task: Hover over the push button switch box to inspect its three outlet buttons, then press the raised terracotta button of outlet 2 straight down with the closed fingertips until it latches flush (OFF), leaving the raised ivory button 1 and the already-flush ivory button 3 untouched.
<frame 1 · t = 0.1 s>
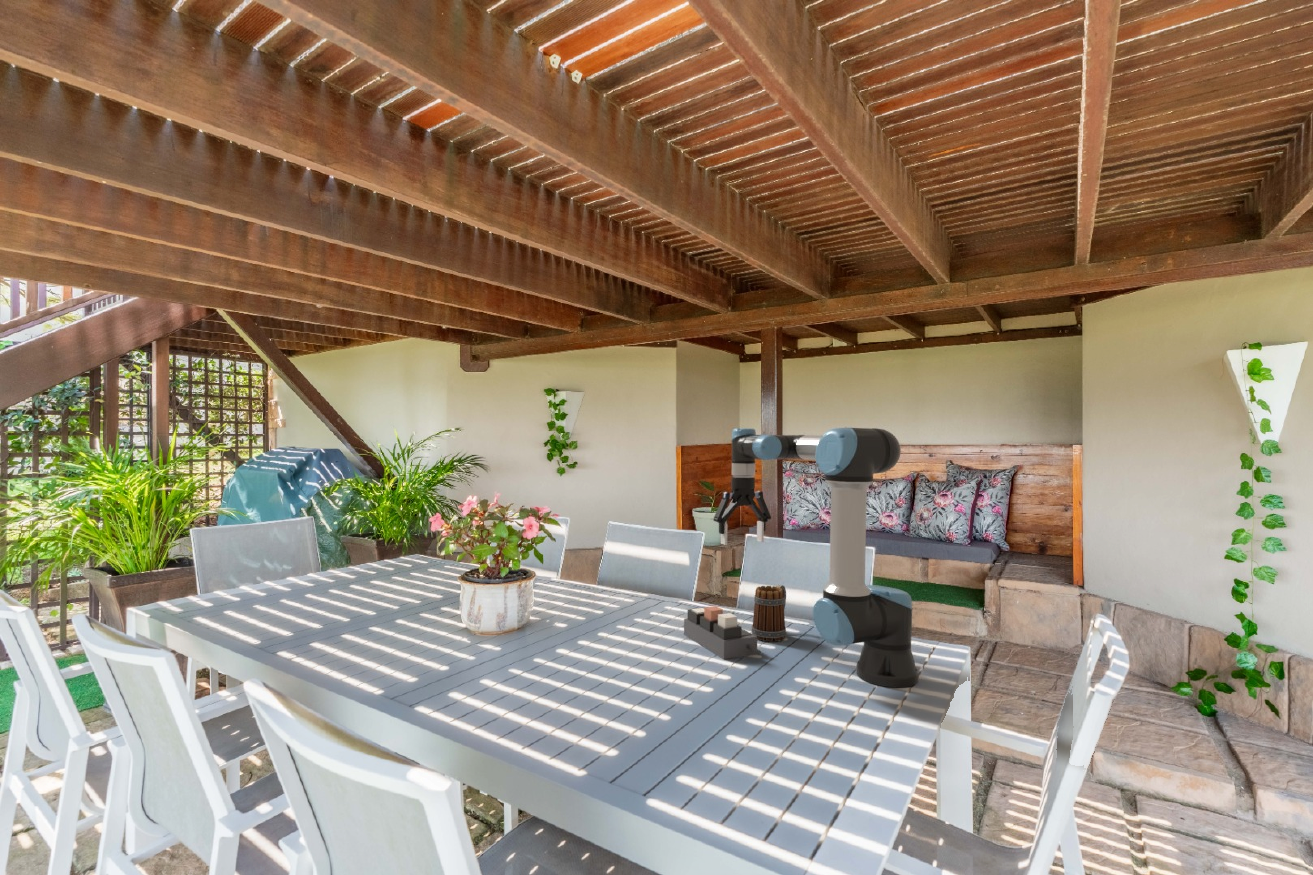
hand: (742, 542, 209), 28 cm above the table, fingers open, 13 cm apart
button 2: (713, 613, 194), point 9 cm above the table, slide at 2.5 cm
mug: (772, 635, 204), on the table
push button switch box: (718, 643, 195), on the table
button 3: (700, 614, 201), point 7 cm above the table, slide at 0.0 cm
button 1: (727, 620, 187), point 9 cm above the table, slide at 2.5 cm
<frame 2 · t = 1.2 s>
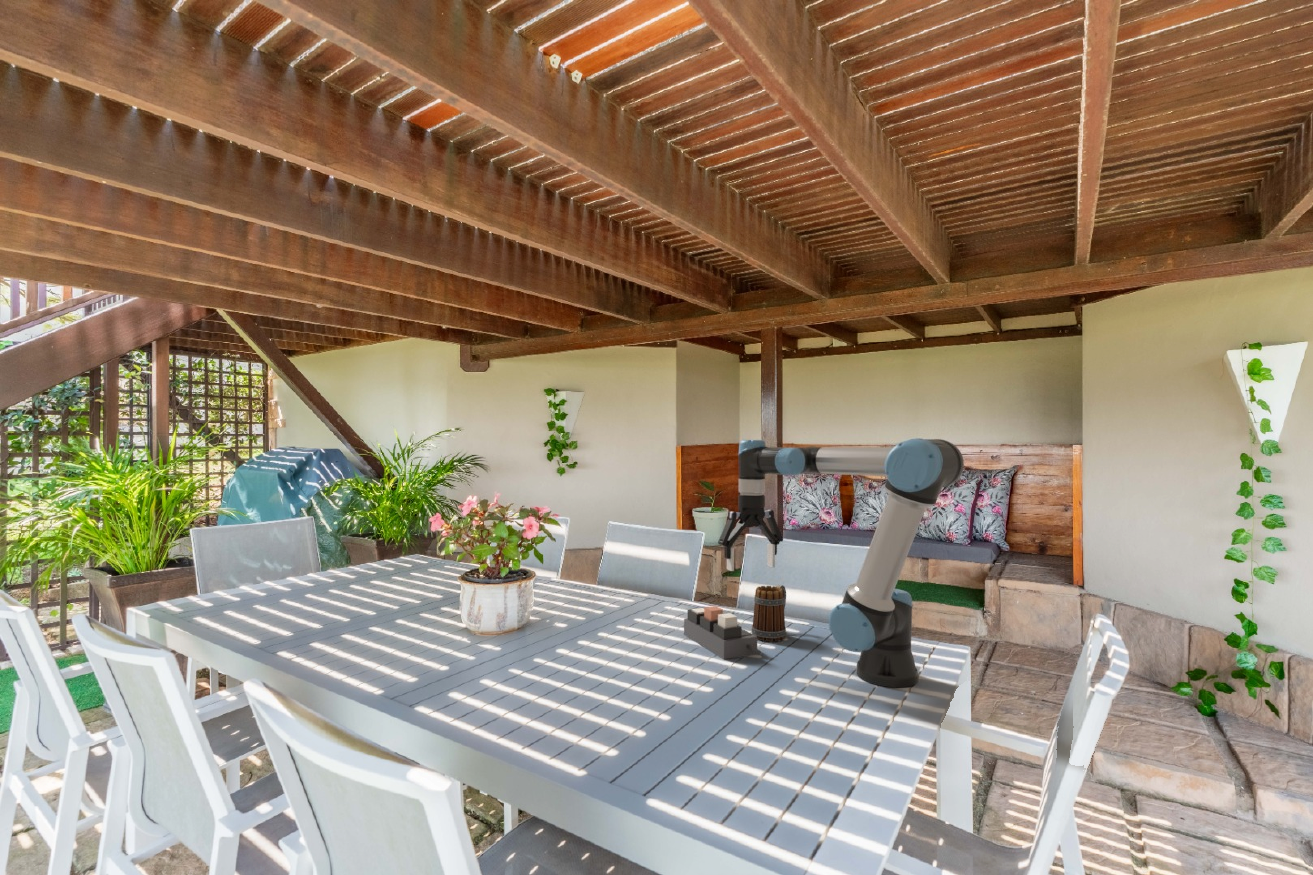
hand: (750, 568, 186), 25 cm above the table, fingers open, 13 cm apart
nothing on the table moved.
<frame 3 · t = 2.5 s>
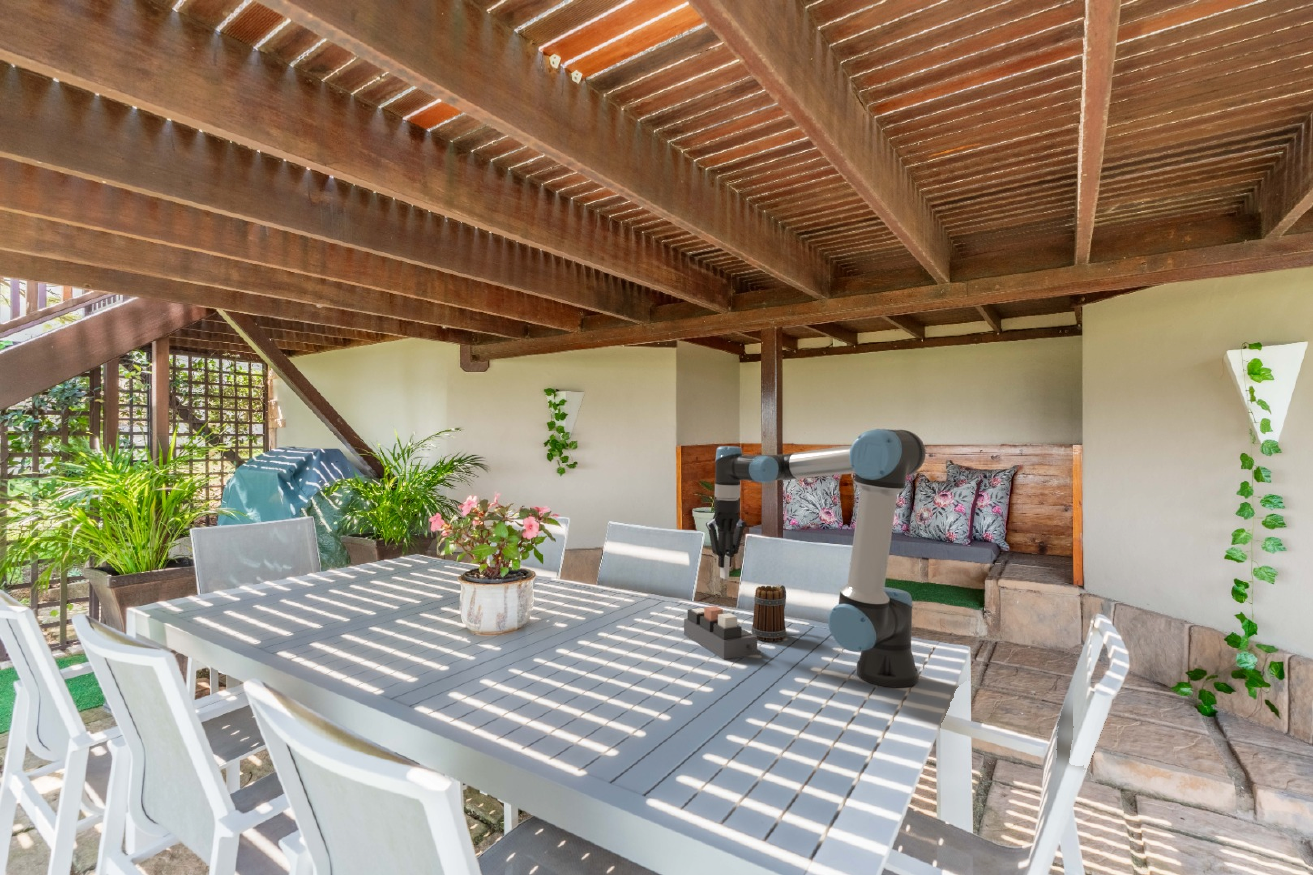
hand: (724, 577, 193), 20 cm above the table, fingers closed
nothing on the table moved.
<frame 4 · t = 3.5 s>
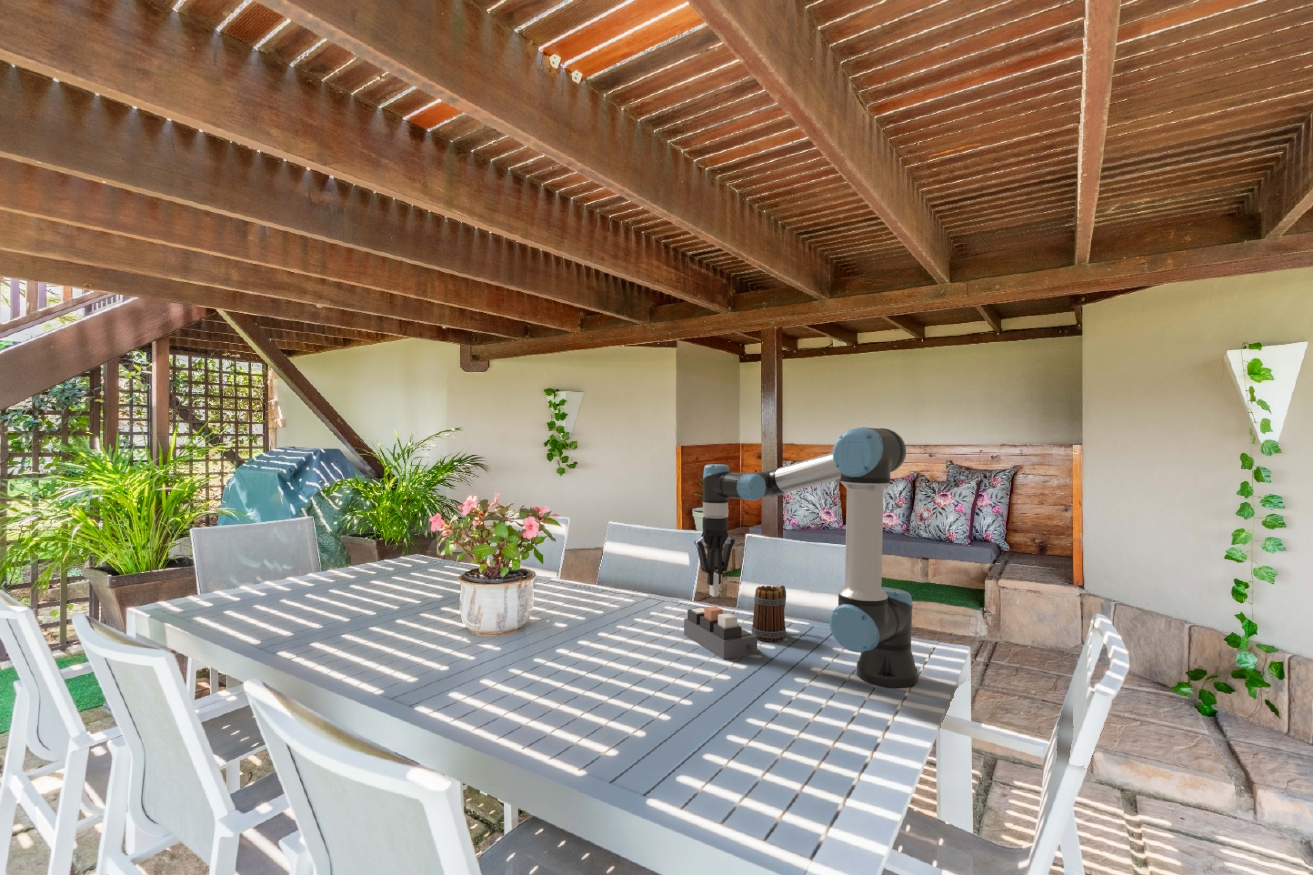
hand: (713, 595, 194), 15 cm above the table, fingers closed
nothing on the table moved.
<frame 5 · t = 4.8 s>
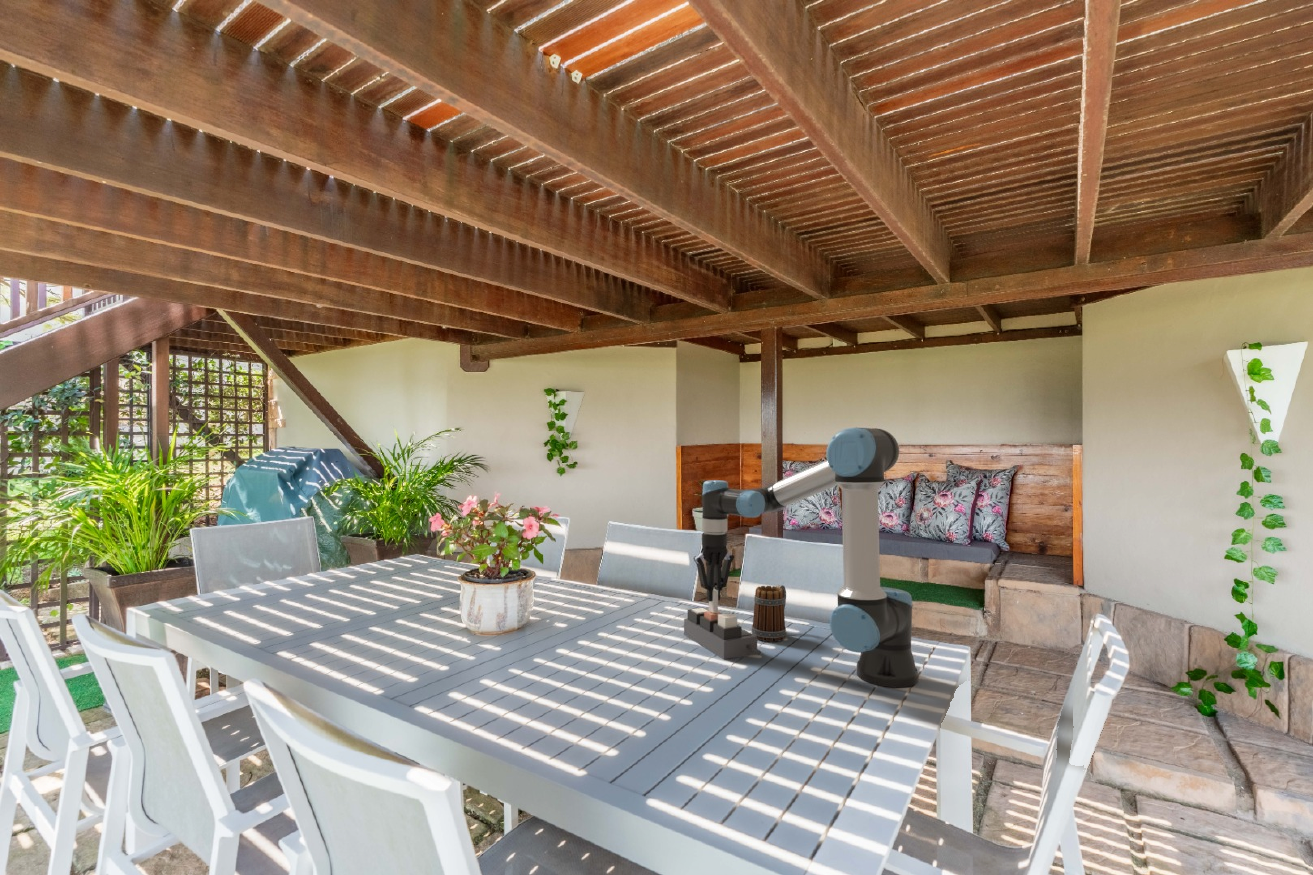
hand: (713, 611, 194), 10 cm above the table, fingers closed
button 2: (713, 617, 194), point 8 cm above the table, slide at 1.3 cm, touching gripper
everything else where it was.
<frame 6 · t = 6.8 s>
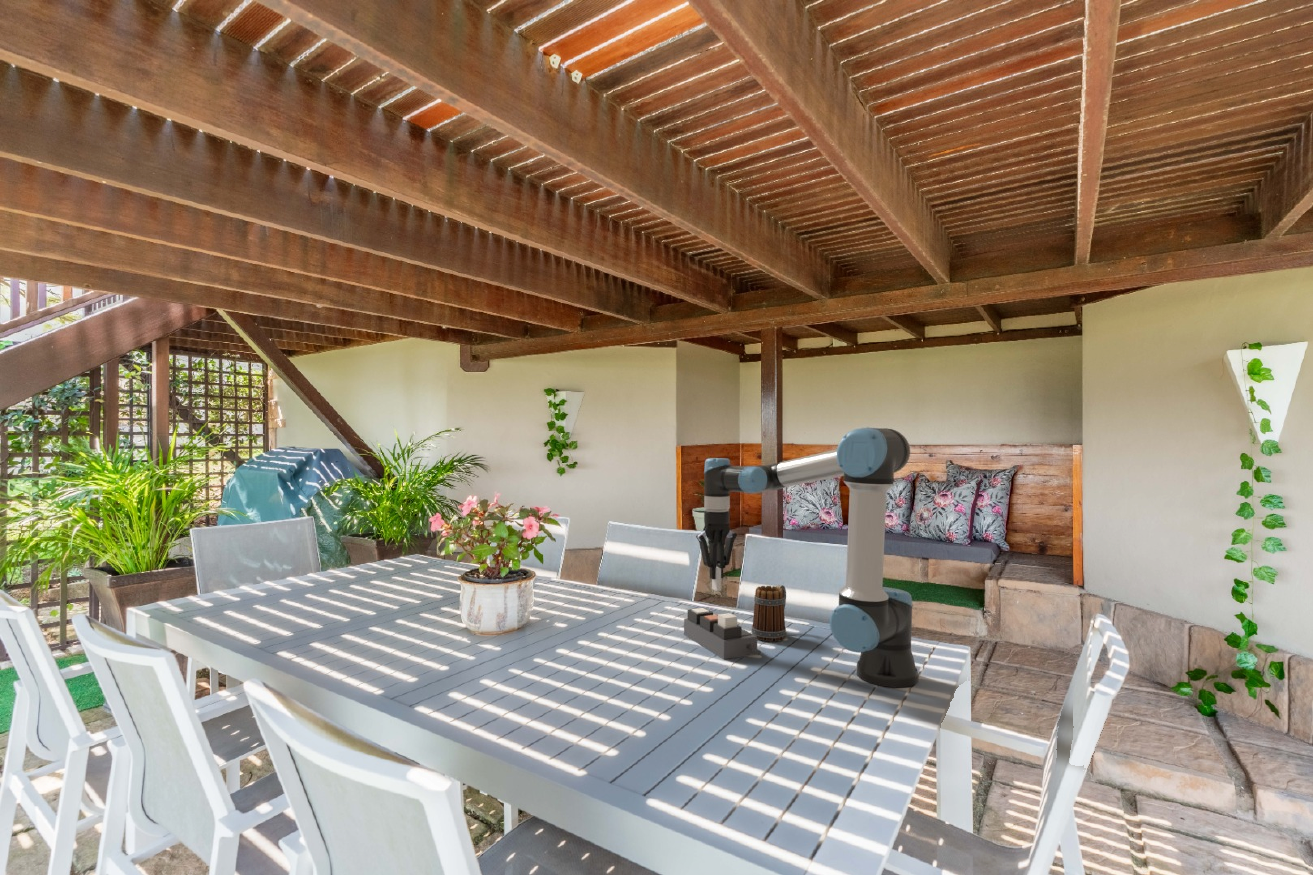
hand: (716, 589, 194), 17 cm above the table, fingers closed
button 2: (713, 622, 194), point 7 cm above the table, slide at 0.0 cm
everything else where it was.
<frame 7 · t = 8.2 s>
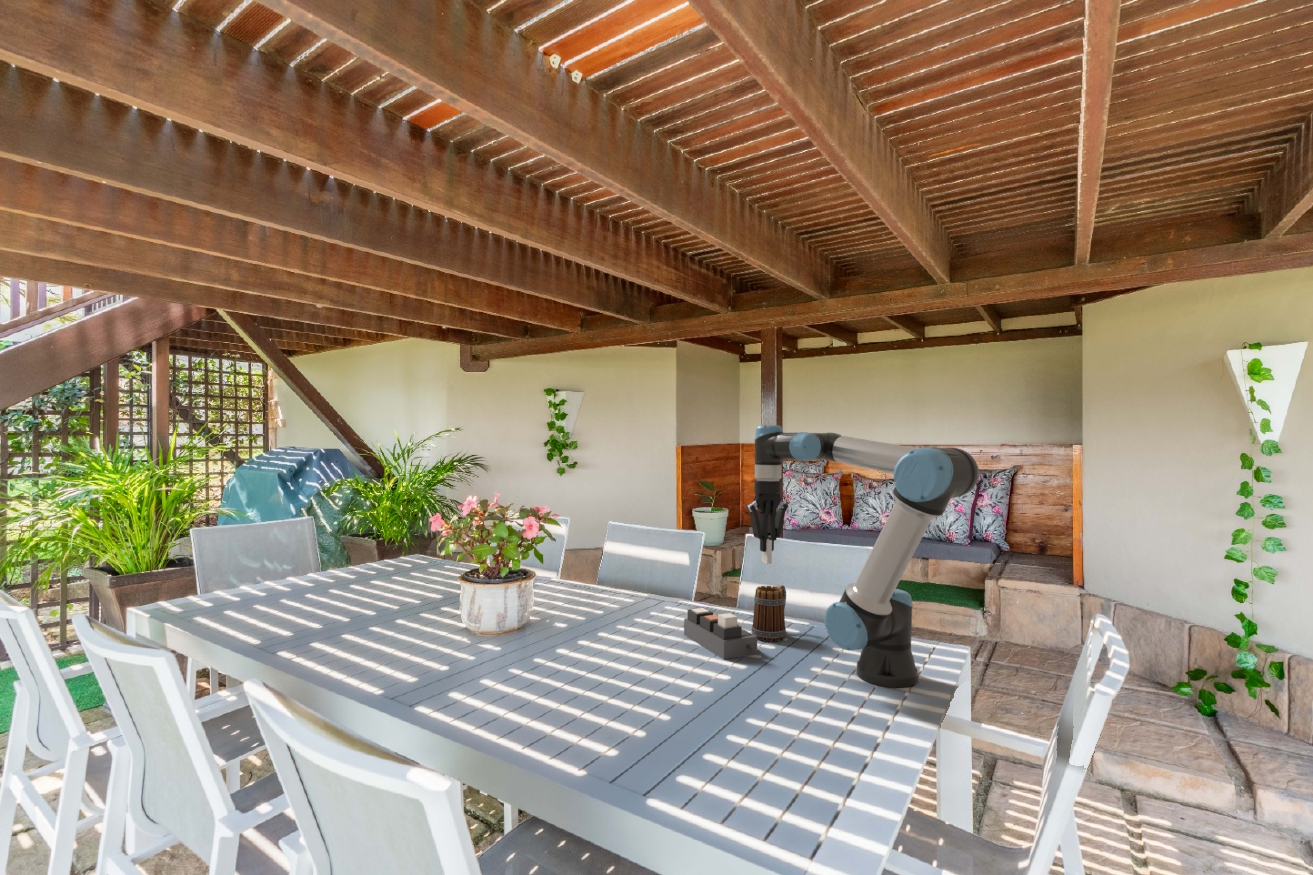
hand: (766, 562, 185), 26 cm above the table, fingers closed
nothing on the table moved.
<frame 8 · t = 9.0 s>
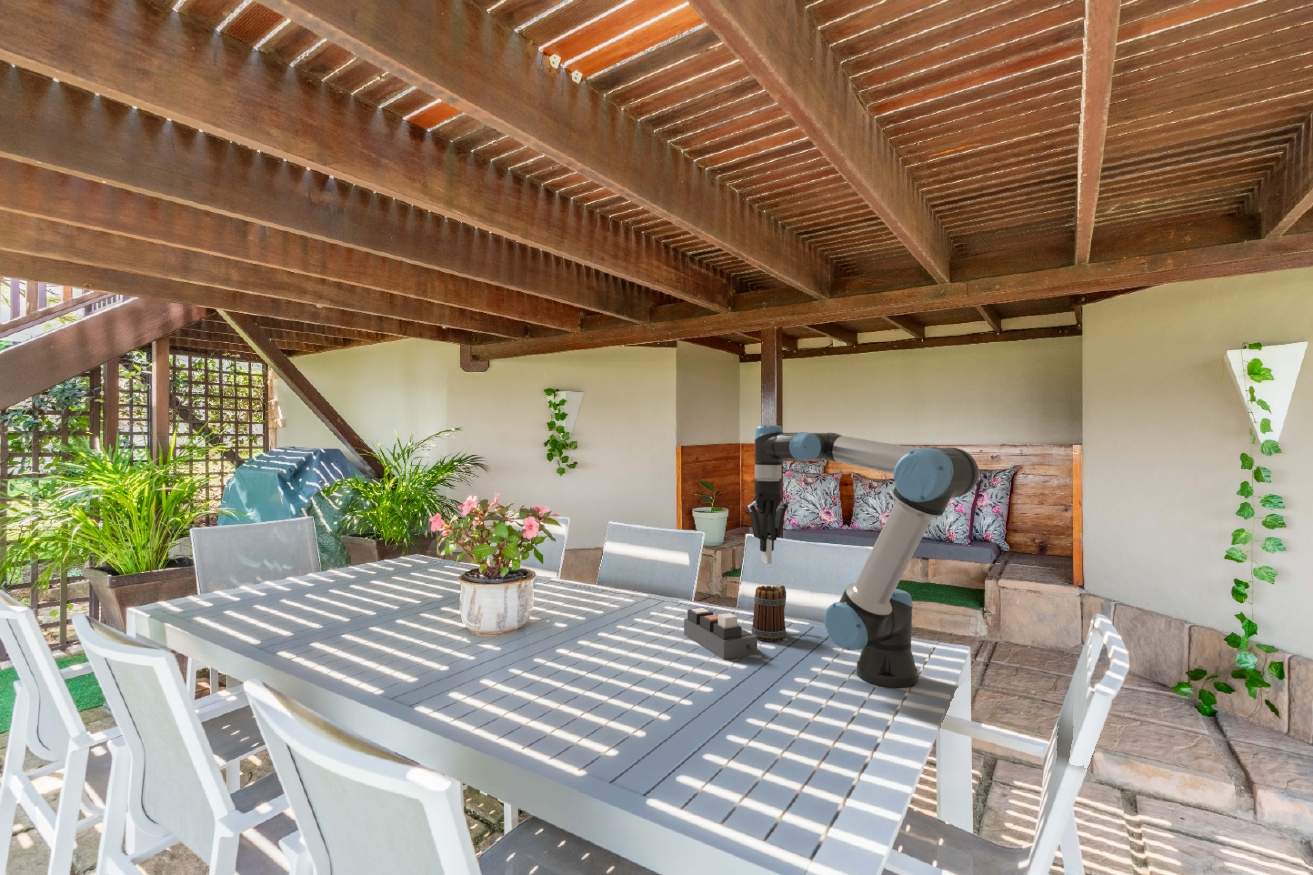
hand: (766, 562, 185), 26 cm above the table, fingers closed
nothing on the table moved.
at the end: button 2 point 6.8 cm above the table; button 1 point 9.3 cm above the table; button 3 point 6.8 cm above the table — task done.
